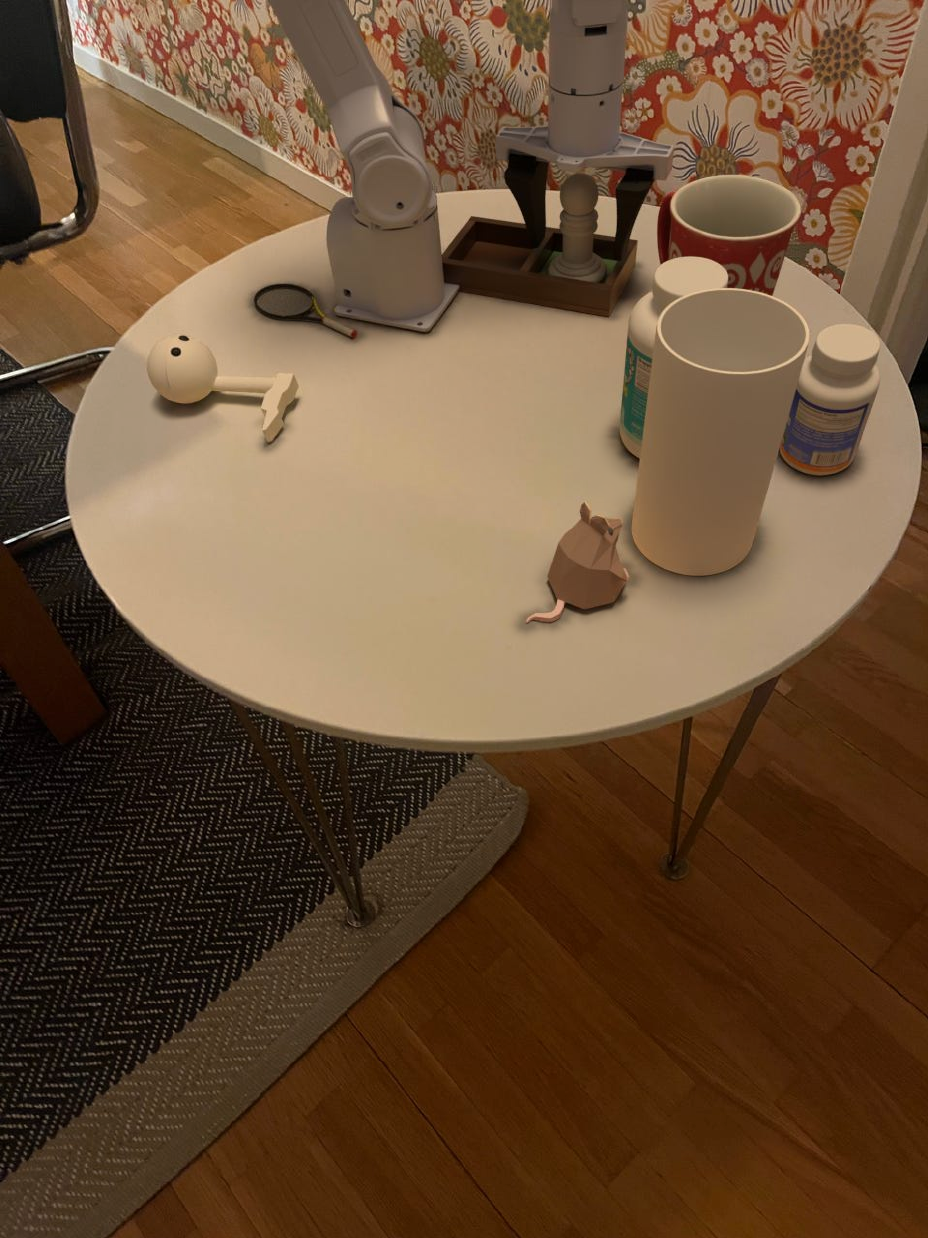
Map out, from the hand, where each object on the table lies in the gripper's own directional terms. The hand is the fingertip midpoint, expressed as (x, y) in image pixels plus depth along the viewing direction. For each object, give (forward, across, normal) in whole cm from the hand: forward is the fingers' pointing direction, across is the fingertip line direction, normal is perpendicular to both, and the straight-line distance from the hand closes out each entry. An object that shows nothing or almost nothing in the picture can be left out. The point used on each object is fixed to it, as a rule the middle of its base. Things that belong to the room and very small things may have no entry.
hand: (578, 248), depth 79 cm
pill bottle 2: (+3, +24, -17) cm, 29 cm away
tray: (+3, -4, 0) cm, 5 cm away
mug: (+4, +13, -8) cm, 15 cm away
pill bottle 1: (+4, +13, -18) cm, 23 cm away
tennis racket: (+3, -23, -14) cm, 27 cm away
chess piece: (+3, 0, 0) cm, 3 cm away
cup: (+4, +17, -28) cm, 33 cm away
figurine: (+1, -28, -27) cm, 39 cm away
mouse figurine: (+4, +11, -36) cm, 37 cm away
